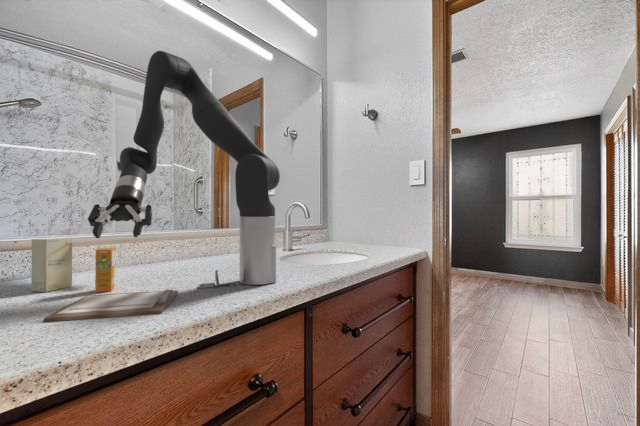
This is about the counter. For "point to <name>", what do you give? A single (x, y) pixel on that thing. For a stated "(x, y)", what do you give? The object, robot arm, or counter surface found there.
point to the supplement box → (104, 269)
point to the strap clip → (212, 285)
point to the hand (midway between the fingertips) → (116, 235)
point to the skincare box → (51, 264)
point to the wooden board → (115, 305)
